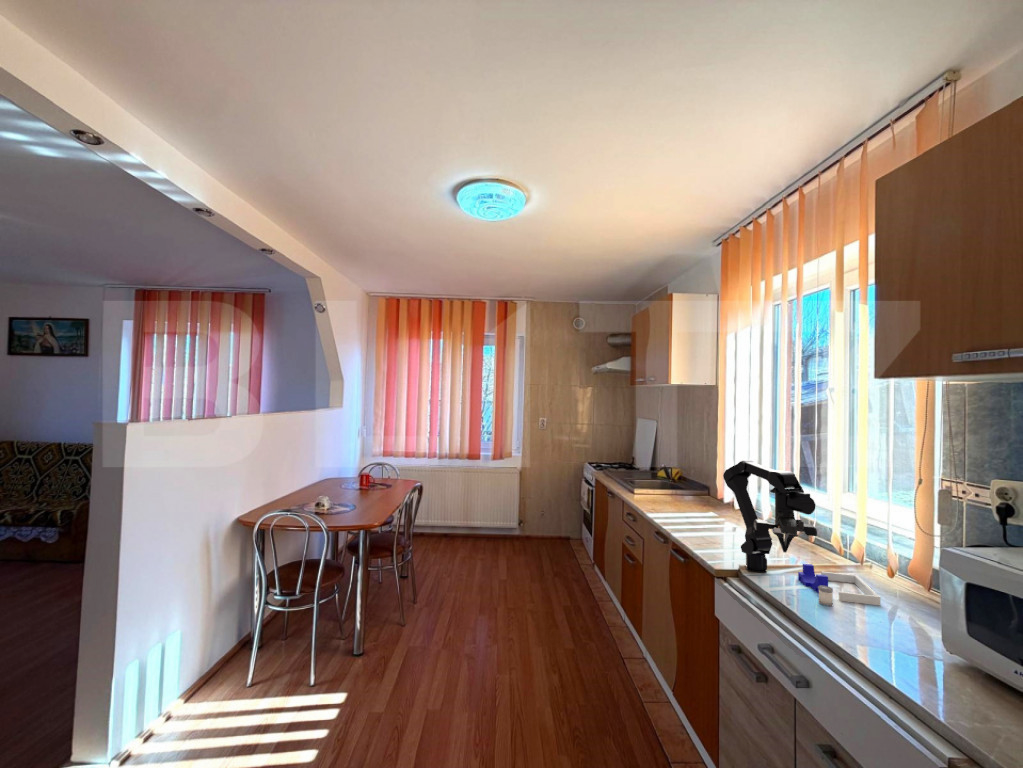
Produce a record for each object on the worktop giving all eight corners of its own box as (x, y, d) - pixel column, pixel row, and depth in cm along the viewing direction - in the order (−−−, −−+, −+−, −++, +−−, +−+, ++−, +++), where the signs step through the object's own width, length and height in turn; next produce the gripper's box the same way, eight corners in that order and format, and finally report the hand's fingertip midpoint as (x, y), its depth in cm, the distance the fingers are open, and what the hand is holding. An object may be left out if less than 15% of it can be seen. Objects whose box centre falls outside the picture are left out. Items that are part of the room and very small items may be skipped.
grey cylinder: (820, 605, 148) (820, 589, 148) (817, 600, 151) (816, 584, 152) (834, 607, 147) (834, 590, 147) (830, 602, 150) (830, 586, 150)
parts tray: (839, 600, 151) (839, 592, 152) (821, 578, 170) (821, 571, 170) (880, 605, 148) (880, 597, 148) (857, 582, 166) (857, 575, 167)
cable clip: (798, 580, 169) (798, 563, 169) (812, 581, 168) (811, 564, 168) (813, 593, 157) (813, 575, 157) (828, 595, 156) (828, 576, 156)
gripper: (758, 510, 161) (759, 556, 161) (821, 515, 155) (822, 563, 155) (753, 503, 172) (753, 546, 171) (812, 507, 166) (812, 552, 165)
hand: (784, 552), depth 165 cm, fingers closed
